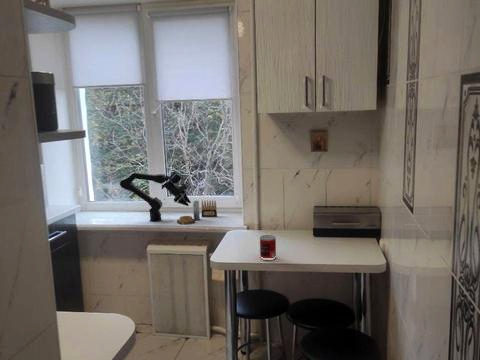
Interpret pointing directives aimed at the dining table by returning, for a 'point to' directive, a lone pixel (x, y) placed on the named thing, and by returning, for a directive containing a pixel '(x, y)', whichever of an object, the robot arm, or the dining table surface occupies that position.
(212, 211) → the ammunition clip
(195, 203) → the drive pin
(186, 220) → the sprocket
